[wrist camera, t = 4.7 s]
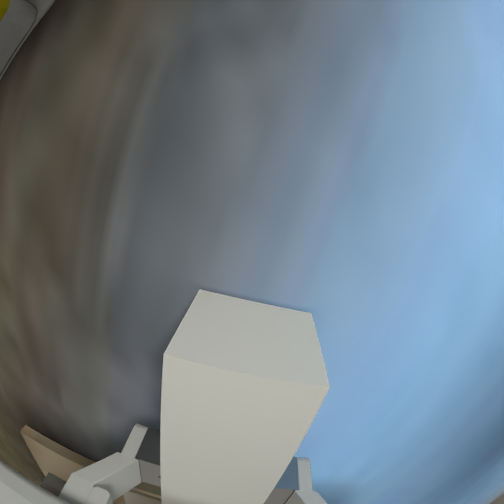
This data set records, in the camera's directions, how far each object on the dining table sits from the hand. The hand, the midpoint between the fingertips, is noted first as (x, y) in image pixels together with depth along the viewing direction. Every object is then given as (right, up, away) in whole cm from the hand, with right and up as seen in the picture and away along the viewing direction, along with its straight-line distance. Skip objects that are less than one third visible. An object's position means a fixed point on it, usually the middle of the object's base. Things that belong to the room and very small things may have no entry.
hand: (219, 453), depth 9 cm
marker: (0, 0, +2) cm, 2 cm away
